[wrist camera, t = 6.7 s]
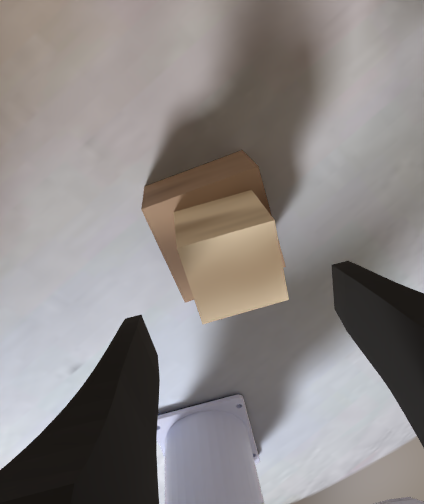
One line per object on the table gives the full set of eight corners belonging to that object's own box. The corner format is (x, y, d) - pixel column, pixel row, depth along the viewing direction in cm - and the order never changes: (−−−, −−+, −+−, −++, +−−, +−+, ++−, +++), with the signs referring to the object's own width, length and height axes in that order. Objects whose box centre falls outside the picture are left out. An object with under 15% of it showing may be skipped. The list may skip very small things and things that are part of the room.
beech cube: (265, 257, 19) (288, 299, 16) (195, 277, 19) (202, 324, 16) (251, 189, 17) (274, 220, 14) (173, 212, 17) (176, 247, 14)
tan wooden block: (266, 236, 23) (285, 266, 20) (181, 267, 24) (185, 302, 20) (241, 149, 20) (258, 166, 17) (144, 185, 21) (141, 209, 17)
